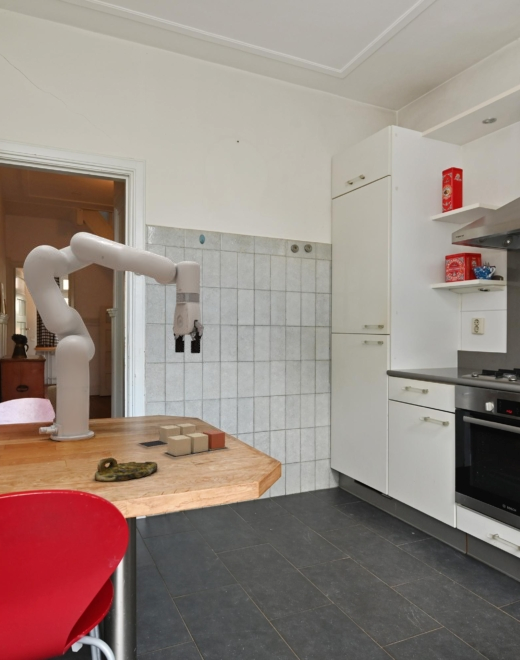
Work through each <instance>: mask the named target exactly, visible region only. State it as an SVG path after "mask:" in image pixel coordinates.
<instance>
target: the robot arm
mask: <svg viewBox="0 0 520 660" xmlns="http://www.w3.org/2000/svg"><path fill="white" fill-rule="evenodd" d="M93 264H95V265H99V266H102V267H105V268H108V269H110V270H114V271H118V272H131V273H136V274H138V275H143V276H144V277H149V278H152V279H154V280H155V282H157V283H158V284H160V285H164V286H165V285H175V290H176V291H175V307H174V313H173V326H172V332H173V338H174V339H173V340H174V352H175V354H177V353H178V354H179V353H181V354H182V353H185V340H184V339H185V337H186V335H189V336H190V338H191V340H190V354H201V341H202V337H203V332H204V328H205V327H204V325H203V324H202V317H201V307H200V306H201V305H200V304H201V302H200V301H201V298H200V295H201V294H200V293H201V285H200V284H201V281H200V280H201V265H200V263H198V262H197V261H194V260H193V261H192V260H182V261H179V262H178V263H175V262H173V260H171V259H170V258H169V257H167V256H165V255H164V256H163V255H161V254H157V253H155V252H152V251H148V250H145V249H142V248H139V247H135V246H131V245H126V244H123V243H120V242H117V241H114V240H111V239H108V238H106V237H102V236H99V235H96V234H93V233H90V232H86V231H79V232H77V233H75V234H73V236H72V237H71V239H70V241H69V245H68V246H66V247H62V248H59V249H57V248H56V247H54V246H51V245H47V244H42V245H39V246H38V245H37V246H36V247H34V248H33V249H32V250H30V252H29V253H28V254H27V256H26V257H25V259H24V262H23V266H22V273H23V280H24V283H25V286H26V289H27V291H28V293H29V295H30V298H31V299H32V302H33V304H34V306H35V308H36V311H37V312H38V314H39V316H40V318H41V321H42V324H43V326H44V327H45V329H46V330H47V331H48V332H50V333H52V334H54V335H56V337H57V339H58V343H57V345H56V347H55V352H54V357H55V368H56V385H57V401H56V423H54V422H52V425H49V426H41V427H39V428H38V433H39V435H43V434H46V435H49V434H50V437H49V438H50V439H51V440H53V441H58V442H63V441H64V442H65V441H79V440H86V439H90V438H93V437H94V436H95V431H93V430H90V364H89V363H90V361H91V360H92V359H93V358H94V356H95V352H96V347H95V346H96V345H95V343H94V341H93V339H92V337H91V335H90V333H89V330H88V328H87V326H86V324H85V323H84V320H83V318H82V316H81V314H80V313H79V312H78V310H77V309H75V308H74V307H73V306H69V304H68V303H67V301H66V299H65V297H64V295H63V293H62V291H61V288H60V287H59V285H58V283H57V281H56V279H55V278H61V277H64V276H67V275H70V274H72V273H75V272H78V271H79V270H82V269H84V268H87V267H89V266H90V265H93Z"/></svg>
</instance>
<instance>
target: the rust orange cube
mask: <svg viewBox="0 0 520 660" xmlns="http://www.w3.org/2000/svg"><path fill="white" fill-rule="evenodd" d="M202 434H206V435H208V449H211V450H213V449H219V448H225V447H226V432H224V431H221V430H217V429H214V430H207V431H202Z"/></svg>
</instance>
